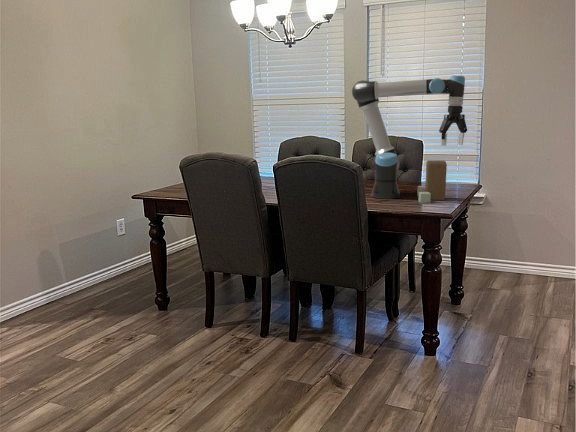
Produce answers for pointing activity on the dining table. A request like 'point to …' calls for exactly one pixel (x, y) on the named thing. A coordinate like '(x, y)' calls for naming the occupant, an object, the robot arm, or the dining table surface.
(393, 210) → the dining table surface
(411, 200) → the dining table surface
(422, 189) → the cream cube
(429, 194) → the sage cube
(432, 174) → the wooden block
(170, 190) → the dining table surface
